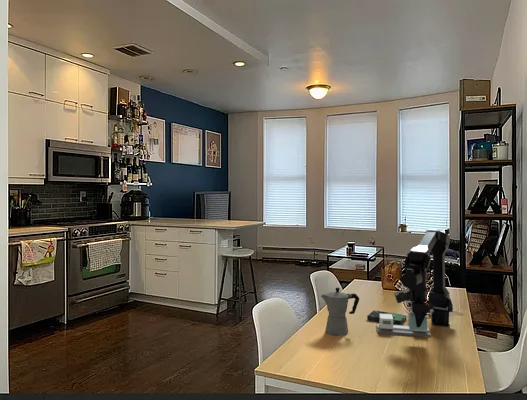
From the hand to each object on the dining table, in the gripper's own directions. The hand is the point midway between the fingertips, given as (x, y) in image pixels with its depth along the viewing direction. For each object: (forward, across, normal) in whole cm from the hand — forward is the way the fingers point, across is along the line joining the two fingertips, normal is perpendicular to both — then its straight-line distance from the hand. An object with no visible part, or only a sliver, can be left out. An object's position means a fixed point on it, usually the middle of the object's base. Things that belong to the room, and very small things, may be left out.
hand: (417, 325), depth 165 cm
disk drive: (+8, -28, -9) cm, 30 cm away
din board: (+7, -13, -4) cm, 15 cm away
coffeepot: (+7, -6, -29) cm, 30 cm away
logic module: (+1, 0, 0) cm, 1 cm away
